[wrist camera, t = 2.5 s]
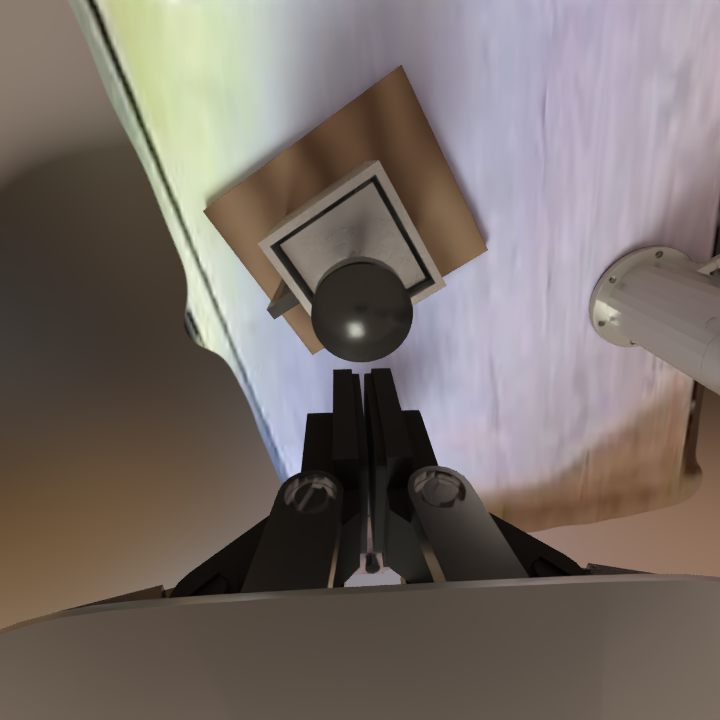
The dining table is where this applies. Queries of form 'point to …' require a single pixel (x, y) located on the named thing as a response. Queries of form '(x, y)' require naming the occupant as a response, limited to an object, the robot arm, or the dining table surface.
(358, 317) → the plunger
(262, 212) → the walnut board
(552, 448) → the dining table surface
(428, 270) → the open box
